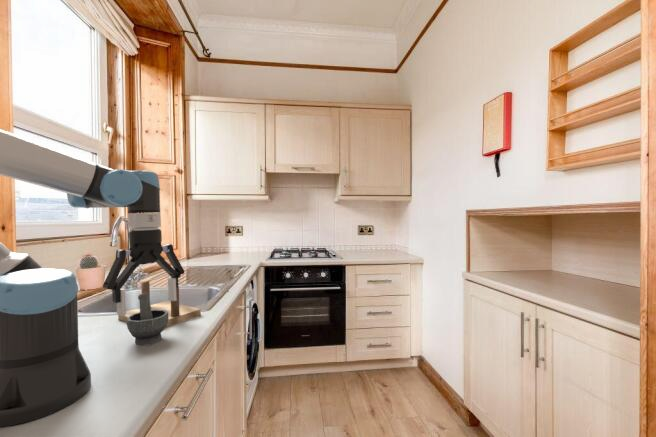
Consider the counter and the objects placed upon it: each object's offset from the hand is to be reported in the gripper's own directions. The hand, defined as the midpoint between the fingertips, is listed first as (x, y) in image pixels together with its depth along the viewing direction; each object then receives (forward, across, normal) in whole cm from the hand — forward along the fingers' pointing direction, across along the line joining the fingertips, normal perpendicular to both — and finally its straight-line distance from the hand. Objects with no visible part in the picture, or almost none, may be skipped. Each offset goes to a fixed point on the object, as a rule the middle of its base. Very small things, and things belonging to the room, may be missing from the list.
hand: (148, 307), depth 83 cm
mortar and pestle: (+9, -1, 0) cm, 9 cm away
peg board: (+9, +11, +15) cm, 21 cm away
